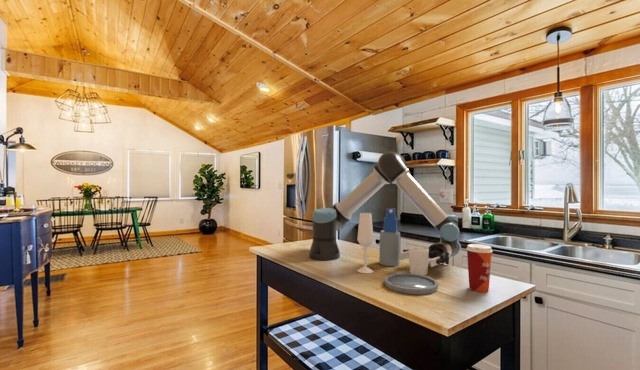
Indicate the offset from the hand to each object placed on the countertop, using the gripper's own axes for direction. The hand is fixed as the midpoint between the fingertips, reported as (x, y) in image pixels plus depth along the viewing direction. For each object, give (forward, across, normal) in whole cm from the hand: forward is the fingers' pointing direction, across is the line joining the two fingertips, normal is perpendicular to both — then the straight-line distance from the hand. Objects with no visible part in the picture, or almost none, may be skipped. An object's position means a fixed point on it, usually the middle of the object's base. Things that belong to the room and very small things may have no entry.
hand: (415, 259), depth 127 cm
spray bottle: (-7, +16, -6) cm, 19 cm away
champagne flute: (+10, +17, -6) cm, 21 cm away
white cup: (-3, 0, -6) cm, 7 cm away
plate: (+13, -6, -6) cm, 16 cm away
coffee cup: (0, -24, -6) cm, 25 cm away
